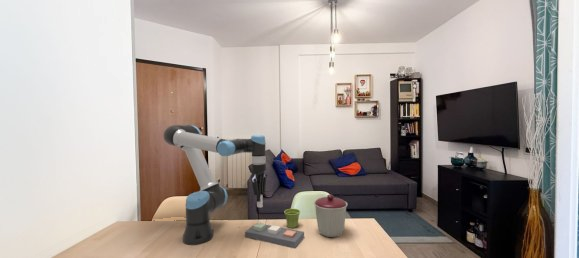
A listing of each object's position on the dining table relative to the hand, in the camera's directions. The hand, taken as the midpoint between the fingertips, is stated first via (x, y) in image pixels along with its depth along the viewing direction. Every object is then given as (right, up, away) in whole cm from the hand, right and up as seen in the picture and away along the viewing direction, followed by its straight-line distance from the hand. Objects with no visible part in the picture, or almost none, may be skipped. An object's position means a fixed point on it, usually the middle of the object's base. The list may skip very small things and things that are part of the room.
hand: (259, 206), depth 129 cm
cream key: (+8, -13, -3) cm, 16 cm away
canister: (+39, -15, 0) cm, 41 cm away
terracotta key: (+16, -14, -7) cm, 23 cm away
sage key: (0, -13, 0) cm, 13 cm away
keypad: (+8, -15, -3) cm, 17 cm away
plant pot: (+18, -15, +10) cm, 25 cm away
